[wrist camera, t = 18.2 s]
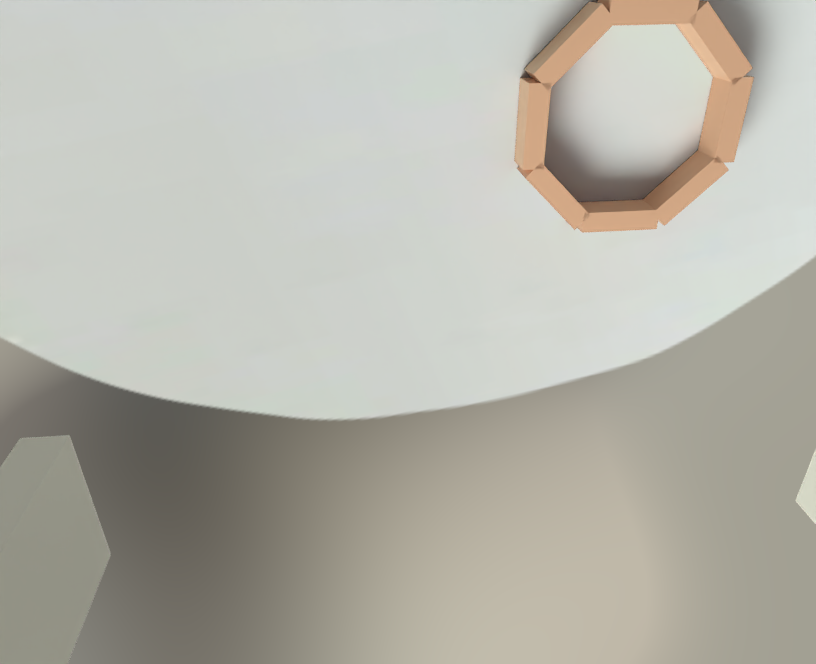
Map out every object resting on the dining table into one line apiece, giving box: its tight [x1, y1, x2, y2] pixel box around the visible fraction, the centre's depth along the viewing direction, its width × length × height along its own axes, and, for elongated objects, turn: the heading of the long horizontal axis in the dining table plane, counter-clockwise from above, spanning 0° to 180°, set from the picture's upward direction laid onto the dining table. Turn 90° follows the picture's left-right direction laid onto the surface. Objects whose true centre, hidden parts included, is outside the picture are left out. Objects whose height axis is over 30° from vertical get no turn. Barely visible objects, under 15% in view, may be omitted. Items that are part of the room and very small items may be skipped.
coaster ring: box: [514, 0, 754, 232], centre depth 36 cm, size 12×12×2 cm
